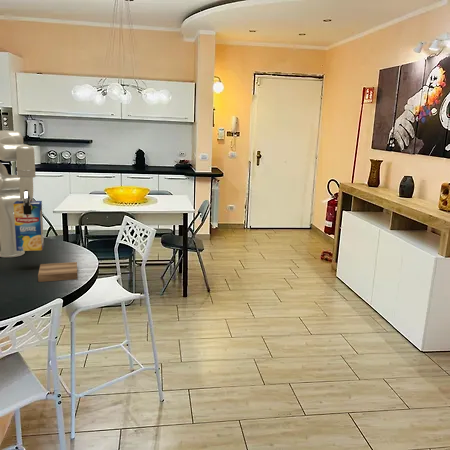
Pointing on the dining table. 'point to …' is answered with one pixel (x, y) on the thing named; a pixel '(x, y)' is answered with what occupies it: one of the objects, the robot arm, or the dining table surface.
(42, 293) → the dining table surface
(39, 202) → the beverage box
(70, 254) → the dining table surface
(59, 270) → the walnut base
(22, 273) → the dining table surface
